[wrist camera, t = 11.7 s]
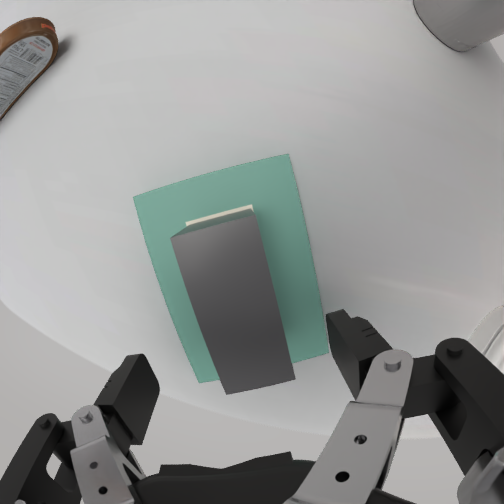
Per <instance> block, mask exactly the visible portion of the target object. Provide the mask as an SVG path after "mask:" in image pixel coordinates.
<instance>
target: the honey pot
mask: <svg viewBox="0 0 504 504" xmlns="http://www.w3.org/2000/svg"><path fill="white" fill-rule="evenodd" d="M468 342H469V343H470V344H472V345H473V346H474V347H475V348H476V349H477V350H478V351H479V352H480V353H482V354H483V355H484V356H485V357H486V358H487V359H488V360H489V361H490V362H491V363H492V364H493V365H494V366H495V367H497V368H498V369H499V370H500V371H501V372H502V373H503V374H504V306H500V307H497V308H495V309H494V310H493V311H491V312H490V313H489V314H488V315H487V316H486V317H485V318H484V319H483V320H482V321H481V323H480V324H479V325H478V327H477V328H476V329H475V331H474V332H473V334H472V336H471V338H470V339H469V341H468Z"/></svg>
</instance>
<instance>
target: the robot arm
mask: <svg viewBox="0 0 504 504" xmlns="http://www.w3.org/2000/svg"><path fill="white" fill-rule="evenodd" d="M414 6H415V8H416V11H417V13H418V15H419V16H420V18H421V19H422V21H423V22H424V24H425V25H426V26H427V27H428V28H429V30H430V31H431V32H432V33H433V34H434V35H435V36H436V37H437V38H439V39H440V40H441V41H442V42H443V43H445V44H446V45H447V46H449V47H451V48H452V49H454V50H457V51H462V52H464V51H467V50H469V49H471V48H474V47H476V46H477V45H480V44H482V43H484V42H486V41H488V40H490V39H493V38H495V37H497V36H500V35H502V34H504V0H414ZM326 322H327V329H328V336H329V343H330V349H331V352H332V356H333V358H334V360H335V362H336V364H337V366H338V368H339V370H340V372H341V373H342V375H343V377H344V379H345V381H346V383H347V385H348V387H349V389H350V391H351V393H352V395H353V397H354V399H355V401H356V402H355V401H350V402H349V403H348V405H347V406H346V408H345V410H344V412H343V414H342V416H341V418H340V420H339V422H338V424H337V426H336V428H335V430H334V431H333V433H332V435H331V437H330V439H329V441H328V442H327V444H326V446H325V448H324V449H323V451H322V453H321V454H320V456H319V458H318V460H317V461H309V460H293V458H292V455H291V452H286V453H280V454H275V455H270V456H264V457H259V458H254V459H252V460H249V461H246V462H243V463H240V464H237V465H233V466H230V467H227V468H224V469H217V468H210V467H203V466H197V465H191V464H182V465H161V467H160V471H159V473H158V474H154V475H151V476H148V477H146V475H145V474H144V472H143V470H142V469H141V467H140V465H139V463H138V461H137V460H136V458H135V456H134V454H133V452H132V451H131V450H130V449H129V448H130V445H142V443H143V440H144V437H145V434H146V431H147V428H148V425H149V422H150V419H151V416H152V413H153V410H154V407H155V404H156V401H157V398H158V396H159V392H160V387H159V383H158V380H157V378H156V376H155V374H154V372H153V370H152V368H151V366H150V364H149V362H148V360H147V358H146V357H145V355H144V354H135V355H128V356H126V358H125V359H124V361H123V363H122V364H121V366H120V367H119V368H118V369H117V370H116V371H115V372H113V373H112V375H111V376H110V378H109V380H108V382H107V383H106V385H105V388H103V390H102V391H101V393H100V395H99V396H98V398H97V400H96V401H95V403H94V405H88V406H84V407H82V408H80V409H79V410H77V411H76V412H75V413H74V415H73V416H72V420H71V421H66V422H60V421H59V419H58V418H57V416H56V415H55V414H52V413H49V414H45V415H43V416H41V417H39V418H38V419H37V420H36V421H35V423H34V425H33V426H32V428H31V429H30V431H29V432H28V434H27V435H26V437H25V439H24V440H23V442H22V444H21V445H20V447H19V449H18V450H17V452H16V454H15V455H14V457H13V459H12V461H11V462H10V464H9V466H8V468H7V469H6V471H5V473H4V475H3V477H2V479H1V480H0V504H80V501H81V498H83V501H84V504H415V503H413V502H410V501H407V500H404V499H402V498H399V497H397V496H394V495H391V494H389V493H386V492H384V491H382V488H383V485H384V483H385V481H386V478H387V476H388V473H389V470H390V466H391V464H392V460H393V457H394V454H395V451H396V448H397V445H398V442H399V439H400V436H401V433H402V429H403V426H404V422H405V419H406V418H410V417H415V416H420V415H425V414H428V415H429V416H430V418H431V420H432V421H433V423H434V424H435V426H436V428H437V429H438V431H439V432H440V434H441V436H442V437H443V439H444V441H445V442H446V444H447V446H448V447H449V449H450V451H451V453H452V454H453V456H454V458H455V459H456V461H457V463H458V465H459V466H460V468H461V470H462V472H463V474H464V475H465V477H464V478H463V480H462V481H461V483H460V485H459V487H458V491H457V497H458V501H459V504H504V374H503V373H502V372H501V371H500V370H499V369H498V368H497V367H495V366H494V365H493V364H492V363H491V362H490V361H489V360H488V359H487V358H486V357H485V356H484V355H483V354H482V353H480V352H479V351H478V350H477V349H476V348H475V347H474V346H473V345H472V344H470V343H469V342H468V341H466V340H464V339H461V338H449V339H446V340H444V341H442V342H440V343H439V344H438V345H437V347H436V350H435V355H430V356H425V357H420V358H412V356H411V355H410V354H409V353H408V352H406V351H403V350H393V348H392V347H391V346H390V345H389V344H388V343H387V342H386V341H385V339H384V338H383V337H382V336H381V335H380V334H379V333H378V332H377V330H376V329H375V328H373V326H372V325H371V324H370V323H369V322H368V320H365V319H363V318H360V317H355V318H352V319H351V318H350V316H349V315H348V314H347V313H346V311H345V310H344V309H342V310H338V311H335V312H332V313H328V314H326ZM52 453H54V454H55V456H56V457H57V458H58V459H59V460H60V461H61V462H62V463H61V465H60V467H59V469H58V472H57V474H56V477H55V479H54V480H53V479H52V478H51V477H50V476H49V475H48V473H47V470H46V465H47V463H48V461H49V459H50V457H51V455H52Z"/></svg>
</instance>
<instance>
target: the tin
mask: <svg viewBox="0 0 504 504" xmlns="http://www.w3.org/2000/svg"><path fill="white" fill-rule="evenodd" d="M57 51H58V38H57V35H56V33H55V27H54V25H53V23H52V22H51V21H49V20H48V19H45V18H41V17H33V18H27V19H24V20H21V21H19V22H17V23H15V24H13V25H11V26H10V27H8V28H7V29H5V30H4V31H3V32H2V33H1V34H0V119H1V118H2V117H3V116H4V115H5V113H6V112H7V111H8V110H9V108H10V107H11V106H12V105H13V104H14V103H15V102H16V100H17V99H18V98H19V97H20V96H21V95H22V94H23V93H24V92H25V91H26V90H27V88H28V87H29V86H30V85H31V84H32V83H33V82H34V81H35V80H36V79H37V78H38V77H39V76H40V75H41V74H42V73H43V72H44V71H45V70H46V69H47V68H48V67H49V66H50V65H51V63H52V62H53V60H54V58H55V56H56V54H57Z"/></svg>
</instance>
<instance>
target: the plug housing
mask: <svg viewBox="0 0 504 504" xmlns="http://www.w3.org/2000/svg"><path fill="white" fill-rule="evenodd" d="M170 240H171V243H172V246H173V250H174V253H175V256H176V259H177V263H178V266H179V269H180V272H181V275H182V278H183V281H184V284H185V287H186V290H187V293H188V296H189V299H190V302H191V305H192V308H193V310H194V313H195V316H196V319H197V322H198V324H199V327H200V330H201V332H202V335H203V338H204V340H205V343H206V346H207V348H208V351H209V353H210V356H211V359H212V361H213V364H214V366H215V369H216V371H217V373H218V376H219V378H220V381H221V383H222V386H223V388H224V390H225V393H226V395H227V394H233V393H238V392H243V391H248V390H253V389H258V388H262V387H266V386H271V385H275V384H279V383H283V382H287V381H291V380H295V375H294V370H293V366H292V362H291V358H290V353H289V349H288V345H287V341H286V337H285V332H284V328H283V324H282V320H281V316H280V311H279V307H278V303H277V299H276V295H275V291H274V287H273V283H272V279H271V275H270V271H269V267H268V262H267V258H266V254H265V250H264V246H263V242H262V238H261V234H260V231H259V227H258V223H257V219H256V215H255V213H254V212H253V211H252V210H251V208H250V209H246V210H242V211H238V212H234V213H231V214H227V215H223V216H219V217H216V218H212V219H208V220H205V221H201V222H197V223H194V224H190V225H188V226H187V227H185V228H184V229H182V230H181V231H179V232H178V233H177V234H175V235H174V236H172V237H171V238H170Z"/></svg>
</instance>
